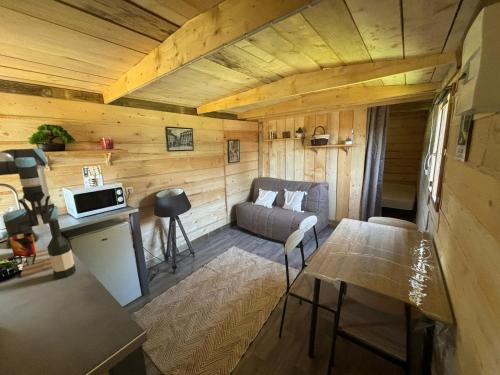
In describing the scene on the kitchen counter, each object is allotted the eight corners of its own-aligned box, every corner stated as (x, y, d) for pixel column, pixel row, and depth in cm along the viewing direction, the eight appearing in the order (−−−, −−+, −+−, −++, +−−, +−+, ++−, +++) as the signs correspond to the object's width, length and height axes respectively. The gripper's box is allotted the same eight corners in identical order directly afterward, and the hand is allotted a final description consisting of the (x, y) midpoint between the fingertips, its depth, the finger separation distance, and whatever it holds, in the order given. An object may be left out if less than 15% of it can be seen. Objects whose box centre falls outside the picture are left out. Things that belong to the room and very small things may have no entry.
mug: (35, 256, 126) (30, 238, 124) (9, 259, 125) (4, 240, 122) (48, 249, 136) (44, 231, 133) (24, 250, 134) (19, 233, 132)
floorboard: (24, 268, 114) (23, 266, 114) (63, 257, 124) (62, 255, 124) (21, 277, 106) (20, 275, 106) (63, 265, 116) (62, 262, 116)
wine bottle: (53, 274, 108) (40, 219, 102) (74, 267, 114) (62, 214, 108) (55, 281, 102) (41, 223, 96) (77, 273, 108) (65, 218, 102)
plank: (37, 253, 130) (37, 250, 130) (55, 248, 135) (54, 246, 135) (34, 265, 117) (34, 262, 117) (54, 260, 122) (53, 257, 122)
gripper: (12, 188, 109) (24, 230, 115) (47, 184, 118) (56, 224, 123) (15, 186, 115) (26, 226, 120) (48, 182, 123) (56, 220, 129)
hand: (41, 225), depth 122 cm, fingers closed
